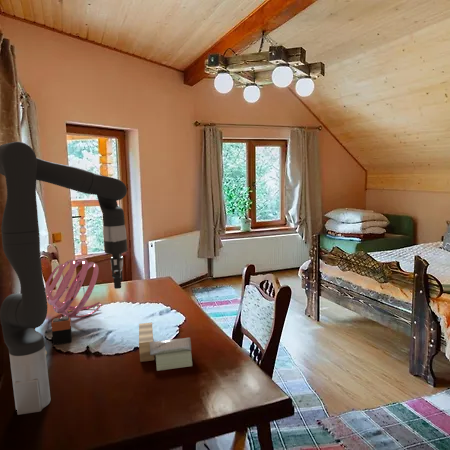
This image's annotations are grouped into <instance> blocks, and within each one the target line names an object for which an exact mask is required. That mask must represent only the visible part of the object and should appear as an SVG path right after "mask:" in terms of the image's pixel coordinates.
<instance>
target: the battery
mask: <svg viewBox="0 0 450 450" xmlns="http://www.w3.org/2000/svg"><path fill="white" fill-rule="evenodd" d="M71 319H72V318H70V317H67V316H65V317H64V316H62V317H61V318H57V317H56V318H53V319H52V321H51V323H50V324H51V325H50V326H51V333H52V344H53V345H54V346H55V345H62V343H63V344H68V343H72V339H73V333H72V321H71Z"/></svg>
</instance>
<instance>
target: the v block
mask: <svg viewBox="0 0 450 450" xmlns="http://www.w3.org/2000/svg"><path fill="white" fill-rule="evenodd" d="M155 363H156V365H155V366H156V371H157V372H158V371H166V370H172V369H180V368H187V367H193V358H192V349H191V350H189V351H181V352H174V353H166V354H158V355H155Z"/></svg>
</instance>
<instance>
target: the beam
mask: <svg viewBox="0 0 450 450" xmlns="http://www.w3.org/2000/svg"><path fill="white" fill-rule="evenodd" d="M138 325H139V326H138V348H139V362H140V363H142V362H149V361H156V358H155V355H152V356H150V342H154V332H153V329H154V327H153V322H145V323H138Z"/></svg>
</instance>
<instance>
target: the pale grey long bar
mask: <svg viewBox="0 0 450 450" xmlns="http://www.w3.org/2000/svg"><path fill="white" fill-rule="evenodd" d="M189 350H191V351H192V341H191V337H184V338H182V337H181V338H174V339H168V340H167V339H166V340H158V341H153V342H150V356H152V355H154V356H156V355H158V354H166V353H174V352H181V351H189Z"/></svg>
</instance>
